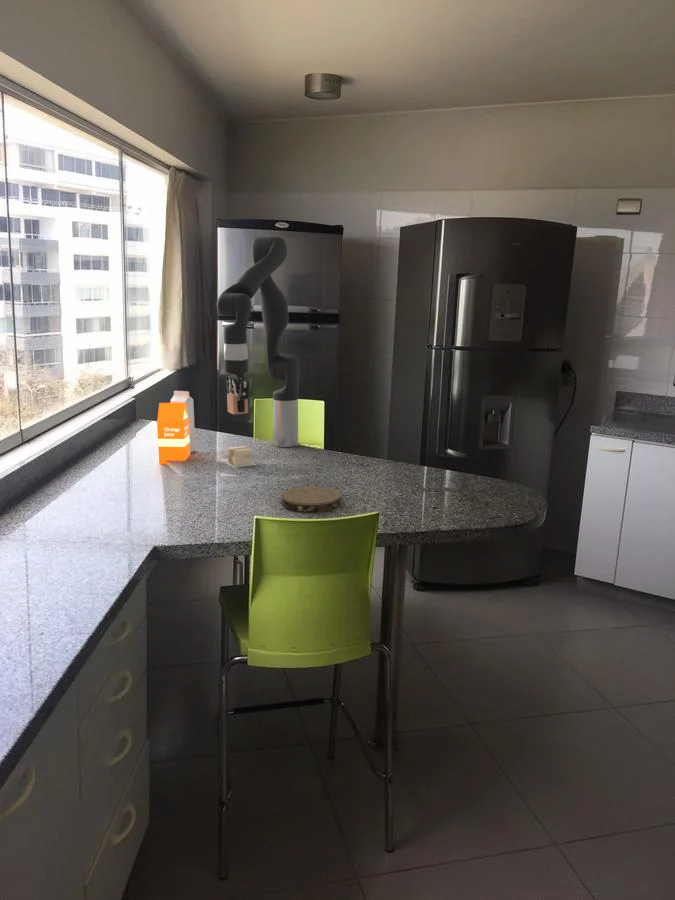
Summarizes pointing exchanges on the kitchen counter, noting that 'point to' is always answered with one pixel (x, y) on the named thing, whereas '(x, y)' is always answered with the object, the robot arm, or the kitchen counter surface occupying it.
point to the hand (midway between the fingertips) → (237, 410)
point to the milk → (185, 398)
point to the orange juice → (173, 432)
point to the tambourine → (311, 499)
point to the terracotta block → (235, 404)
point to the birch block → (240, 456)
